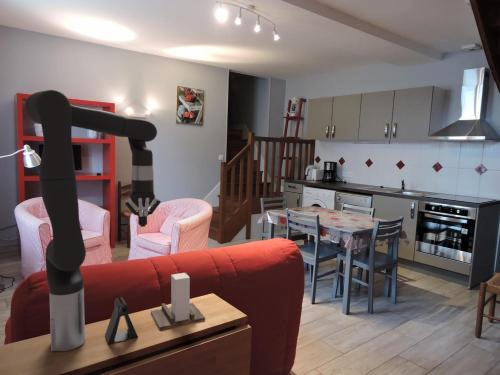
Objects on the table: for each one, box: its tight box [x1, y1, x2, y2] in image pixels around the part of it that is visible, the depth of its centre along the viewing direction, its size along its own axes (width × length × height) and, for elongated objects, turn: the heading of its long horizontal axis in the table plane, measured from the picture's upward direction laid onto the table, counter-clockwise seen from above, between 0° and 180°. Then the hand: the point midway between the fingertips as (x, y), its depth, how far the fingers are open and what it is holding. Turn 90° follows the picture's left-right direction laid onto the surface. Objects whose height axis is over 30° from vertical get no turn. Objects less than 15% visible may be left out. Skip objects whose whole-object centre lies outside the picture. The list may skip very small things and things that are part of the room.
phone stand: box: [104, 296, 138, 346], centre depth 113 cm, size 9×6×12 cm, turn 120°
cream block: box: [170, 272, 191, 322], centre depth 124 cm, size 5×5×15 cm
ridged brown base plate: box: [150, 302, 206, 331], centre depth 127 cm, size 16×13×3 cm
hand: (142, 226), depth 127 cm, fingers closed
